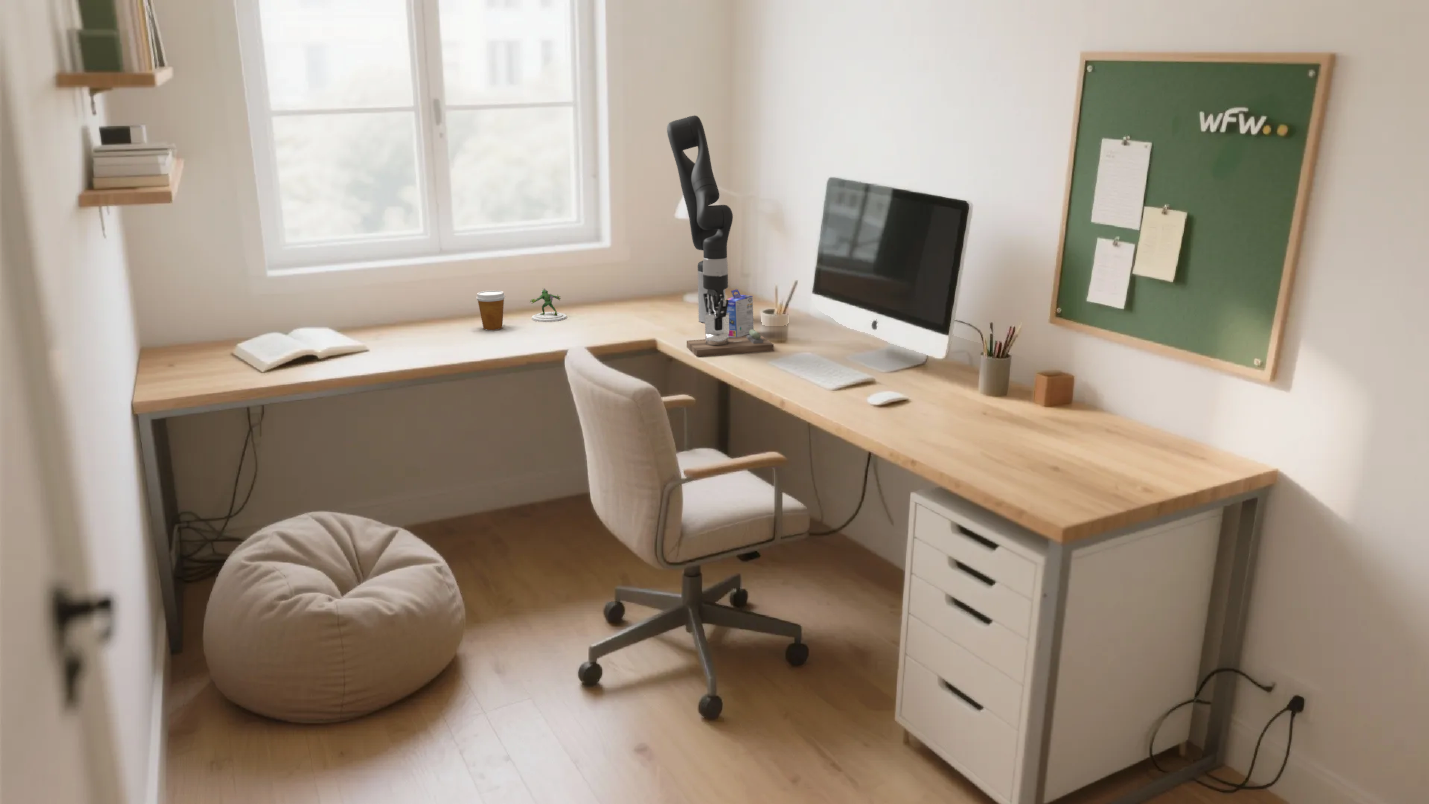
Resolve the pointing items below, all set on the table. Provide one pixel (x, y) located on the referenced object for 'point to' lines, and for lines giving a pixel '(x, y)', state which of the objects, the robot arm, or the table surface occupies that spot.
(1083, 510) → the table surface
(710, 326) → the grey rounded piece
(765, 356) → the table surface
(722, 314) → the robot arm
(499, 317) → the disposable coffee cup
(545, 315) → the monster figurine
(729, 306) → the ink cartridge box
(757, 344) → the board
